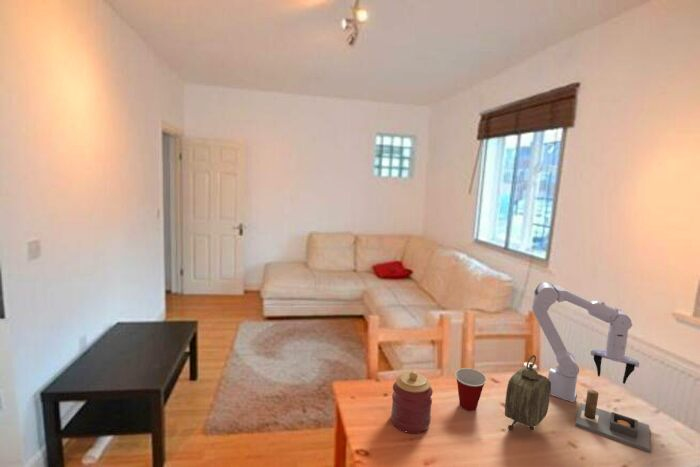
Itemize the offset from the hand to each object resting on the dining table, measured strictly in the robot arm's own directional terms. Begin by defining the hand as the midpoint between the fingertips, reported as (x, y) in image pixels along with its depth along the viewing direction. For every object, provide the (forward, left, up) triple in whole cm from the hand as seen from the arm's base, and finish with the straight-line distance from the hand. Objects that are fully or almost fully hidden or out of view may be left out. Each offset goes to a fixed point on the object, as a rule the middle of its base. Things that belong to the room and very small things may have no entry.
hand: (611, 378), depth 141 cm
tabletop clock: (-21, -35, -10) cm, 42 cm away
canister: (-52, -57, -10) cm, 78 cm away
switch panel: (+2, -16, -10) cm, 19 cm away
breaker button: (+5, -16, -8) cm, 19 cm away
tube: (-24, -20, -10) cm, 33 cm away
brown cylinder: (-4, -16, -9) cm, 19 cm away
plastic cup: (-40, -36, -10) cm, 55 cm away
